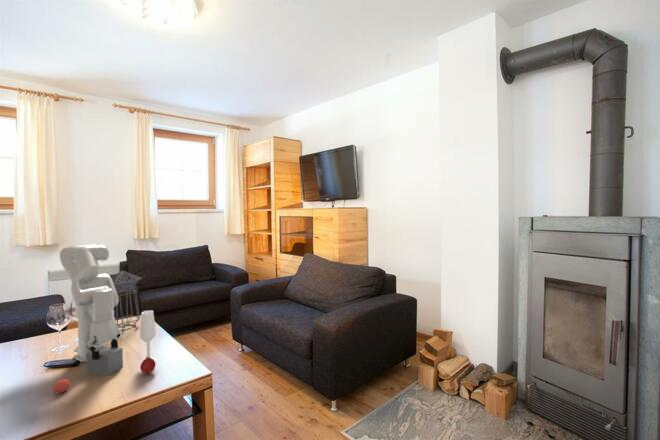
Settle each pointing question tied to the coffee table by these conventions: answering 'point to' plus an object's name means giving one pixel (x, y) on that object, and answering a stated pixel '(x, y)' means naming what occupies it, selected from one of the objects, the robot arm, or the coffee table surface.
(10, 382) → the coffee table surface
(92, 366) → the grey rectangular box
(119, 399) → the coffee table surface
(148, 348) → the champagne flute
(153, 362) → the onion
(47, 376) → the coffee table surface
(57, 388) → the ball
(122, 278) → the geometric lantern
